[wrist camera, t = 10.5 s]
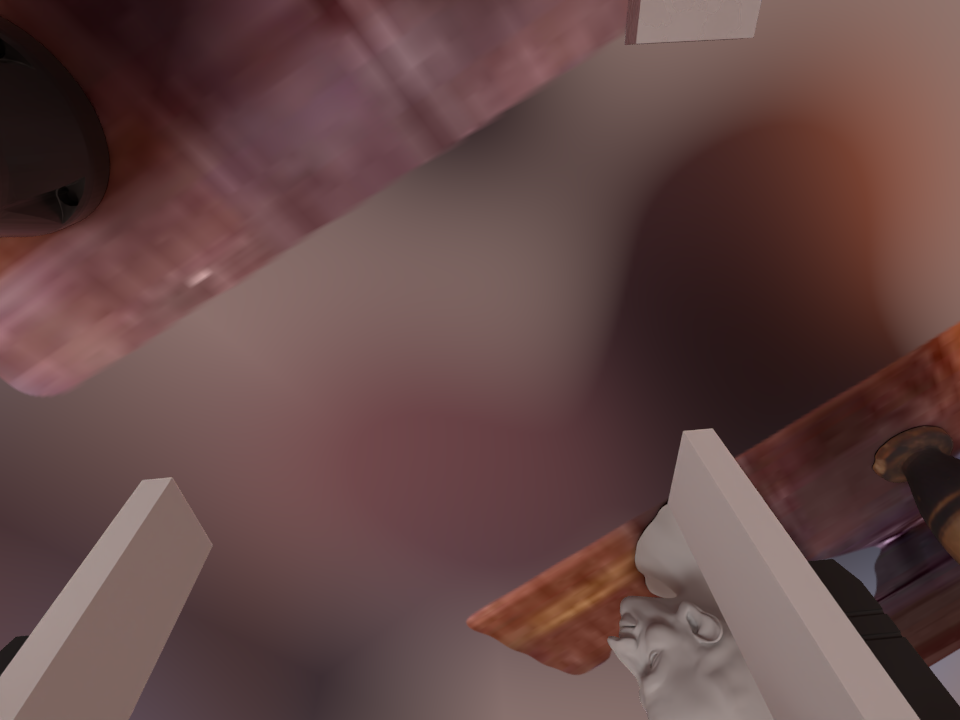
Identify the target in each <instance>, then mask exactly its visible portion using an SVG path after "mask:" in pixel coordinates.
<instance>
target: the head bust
mask: <svg viewBox="0 0 960 720" xmlns="http://www.w3.org/2000/svg"><path fill="white" fill-rule="evenodd" d="M635 563H636V567H637V569H638V570H639V571H640V572H641V573H642V574H644V576H645V581H646V585H647V587H648V589H649V591H650V592H651V593H653V594H655V595H657V596H660V597H663V598H653V597H640V596H629V597H626V598H624V599H623V600H622V602H621V604H620V613H621V616H622V618H621V620H620V622H619V626H620V632H619V637H620V638H617V637H614V636H610V637H608V643H609V645H610V647H611V648H612V649H613V651H614V652H615V654H616V656H617V657H618V658H619V659H620V661H621V662H622V663H623V664H624V665H625V666H626V667H627V668H628V669H629V671H630V672H631V673H632V674H633V675H634V676H635V678H636V679H637V681H638V685H639V688H640V689H639V698H640V702H641V704H642V706H643V708H644V709H645V710H646V712H647V716H648V720H774V718H773V716H772V714H771V712H770V710H769V708H768V706H767V704H766V702H765V700H764V698H763V696H762V694H761V692H760V690H759V688H758V686H757V684H756V682H755V680H754V678H753V676H752V674H751V672H750V670H749V668H748V666H747V664H746V662H745V660H744V657H743V655H742V653H741V651H740V649H739V647H738V645H737V643H736V641H735V639H734V637H733V635H732V633H731V631H730V629H729V627H728V625H727V623H726V621H725V619H724V617H723V615H722V613H721V611H720V609H719V607H718V605H717V603H716V601H715V599H714V597H713V594H712V592H711V590H710V588H709V586H708V584H707V582H706V580H705V578H704V576H703V574H702V572H701V570H700V568H699V566H698V564H697V562H696V560H695V558H694V556H693V554H692V552H691V550H690V548H689V546H688V544H687V542H686V540H685V538H684V536H683V534H682V532H681V529H680V527H679V525H678V523H677V521H676V519H675V517H674V515H673V513H672V511H671V509H670V507H669V505H668V504H667V505H665V506H664V507H662V508H661V509H660V511H659V512H658V515H657V516H656V518H655V519H654V520H653V521H652V522H651V524H650V525H649V526H648V527H647V528H646V530H645V531H644V532H643V534H642V535H641V537H640V539H639V541H638V543H637V548H636V554H635Z"/></svg>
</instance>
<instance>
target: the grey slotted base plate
mask: <svg viewBox="0 0 960 720" xmlns="http://www.w3.org/2000/svg"><path fill="white" fill-rule="evenodd" d="M761 2H762V0H629V5H628V16H627V26H626V36H625V45H628V44H650V43H668V42H686V41H706V40H707V41H708V40H726V39H743V38H754V34H755V29H756V24H757V20H758V15H759V11H760V6H761Z"/></svg>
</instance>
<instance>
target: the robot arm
mask: <svg viewBox="0 0 960 720" xmlns="http://www.w3.org/2000/svg"><path fill="white" fill-rule="evenodd" d="M108 179H109V153H108V147H107V143H106V139H105V136H104V132H103V129H102V127H101V124H100V122H99V119H98V117H97V115H96V113H95V111H94V109H93V107H92V105H91V103H90V102H89V100H88V98H87V97H86V95H85V93H84V92H83V90H82V89H81V88H80V86H79V85H78V83H77V82H76V81H75V79H74V78H73V77H72V76H71V74H70V73H69V72H68V71H67V70H66V68H65V67H64V66H63V65H62V64H61V63H60V62H59V61H58V60H57V59H56V58H55V57H54V56H53V55H52V54H51V53H50V52H49V51H48V50H47V49H46V48H45V47H44V46H42V45H41V44H40V43H39V42H38V41H36V40H35V39H34V38H33V37H31V36H30V35H29V34H27V33H26V32H25V31H23V30H22V29H20V28H19V27H17V26H16V25H14V24H13V23H11V22H9V21H8V20H6V19H4V18H2V17H0V237H31V236H39V235H44V234H48V233H52V232H55V231H58V230H60V229H63V228H65V227H67V226H70V225H72V224H75V223H77V222H79V221H81V220H82V219H84V218H85V217H87V216H88V215H89V214H91V213H92V212H93V211H94V210H95V208H96V207H97V206H98V205H99V203H100V201H101V200H102V198H103V196H104V194H105V191H106V188H107V184H108ZM668 505H669V507H670V509H671V511H672V513H673V515H674V517H675V519H676V521H677V523H678V525H679V527H680V529H681V532H682V534H683V536H684V538H685V540H686V542H687V544H688V546H689V548H690V550H691V552H692V554H693V556H694V558H695V560H696V562H697V564H698V566H699V568H700V570H701V572H702V574H703V576H704V578H705V580H706V582H707V584H708V586H709V588H710V590H711V592H712V594H713V597H714V599H715V601H716V603H717V605H718V607H719V609H720V611H721V613H722V615H723V617H724V619H725V621H726V623H727V625H728V627H729V629H730V631H731V633H732V635H733V637H734V639H735V641H736V643H737V645H738V647H739V649H740V651H741V653H742V655H743V657H744V660H745V662H746V664H747V666H748V668H749V670H750V672H751V674H752V676H753V678H754V680H755V682H756V684H757V686H758V688H759V690H760V692H761V694H762V696H763V698H764V700H765V702H766V704H767V706H768V708H769V710H770V712H771V714H772V716H773V718H774V720H960V706H959V705H958V704H957V703H956V701H955V700H954V699H953V697H952V696H951V695H950V694H949V692H948V691H947V690H946V688H945V687H944V686H943V685H942V683H941V682H940V681H939V680H938V678H937V677H936V676H935V675H934V674H933V672H932V671H931V669H930V668H929V667H928V666H927V664H926V663H925V662H924V661H923V659H922V658H921V657H920V655H919V654H918V653H917V652H916V650H915V649H914V648H913V647H912V645H911V644H910V643H909V642H908V640H907V639H906V638H905V637H902V636H901V634H900V630H899V629H898V628H897V626H896V625H895V624H894V622H893V621H892V620H891V619H890V617H889V616H888V615H887V614H884V613H883V611H882V607H881V606H880V605H879V603H878V602H877V601H876V600H875V598H874V597H873V596H872V595H871V593H870V592H869V591H868V590H867V588H866V587H865V586H864V585H863V583H862V582H861V581H860V580H859V579H857V578H856V577H855V576H854V575H852V574H851V573H850V572H849V571H847V570H846V569H845V568H843V567H842V566H841V565H840V564H839V563H837V562H836V561H835V560H833V559H828V560H818V561H807V560H806V559H805V557H804V556H803V555H802V553H801V552H800V550H799V549H798V548H797V546H796V545H795V543H794V542H793V541H792V539H791V538H790V536H789V535H788V533H787V532H786V531H785V529H784V528H783V526H782V525H781V524H780V522H779V521H778V519H777V518H776V517H775V515H774V514H773V512H772V511H771V510H770V508H769V507H768V505H767V504H766V503H765V501H764V500H763V498H762V497H761V496H760V494H759V493H758V491H757V490H756V489H755V487H754V486H753V484H752V483H751V482H750V480H749V479H748V477H747V476H746V475H745V473H744V472H743V470H742V469H741V468H740V466H739V465H738V463H737V462H736V461H735V459H734V458H733V456H732V455H731V454H730V452H729V451H728V449H727V448H726V447H725V445H724V444H723V442H722V441H721V440H720V438H719V437H718V435H717V434H716V432H715V431H714V430H713V429H700V430H689V431H683V434H682V439H681V443H680V448H679V453H678V457H677V462H676V467H675V472H674V476H673V481H672V486H671V490H670V495H669V499H668ZM212 546H213V545H212V543H211V541H210V540H209V538H208V536H207V535H206V533H205V531H204V530H203V528H202V526H201V525H200V523H199V521H198V520H197V518H196V516H195V515H194V513H193V511H192V509H191V508H190V506H189V505H188V503H187V501H186V499H185V498H184V496H183V495H182V493H181V491H180V489H179V488H178V486H177V484H176V482H175V481H174V479H173V478H172V477H170V478H159V479H148V480H142V481H141V483H140V484H139V486H138V487H137V488H136V489H135V491H134V492H133V494H132V495H131V496H130V498H129V499H128V501H127V502H126V503H125V505H124V506H123V508H122V509H121V510H120V512H119V513H118V514H117V516H116V517H115V518H114V520H113V521H112V523H111V524H110V525H109V527H108V528H107V530H106V531H105V532H104V534H103V535H102V537H101V538H100V540H99V541H98V542H97V543H96V545H95V546H94V548H93V549H92V550H91V552H90V553H89V554H88V556H87V557H86V559H85V560H84V561H83V563H82V564H81V565H80V567H79V568H78V570H77V571H76V572H75V574H74V575H73V577H72V578H71V579H70V581H69V582H68V583H67V585H66V586H65V588H64V589H63V591H62V592H61V593H60V595H59V596H58V597H57V599H56V600H55V602H54V603H53V604H52V606H51V607H50V608H49V610H48V611H47V612H46V614H45V615H44V617H43V618H42V620H41V621H40V622H39V624H38V625H37V627H36V628H35V629H34V630H33V632H32V633H31V635H30V636H20V637H15V638H14V639H13V640H12V641H11V642H10V643H9V644H8V645H6V646H5V647H4V648H3V649H2V650H1V651H0V720H129V717H130V716H131V714H132V712H133V709H134V707H135V705H136V703H137V701H138V699H139V697H140V695H141V693H142V691H143V689H144V687H145V685H146V683H147V681H148V679H149V676H150V674H151V672H152V670H153V668H154V666H155V664H156V662H157V660H158V658H159V656H160V653H161V652H162V650H163V647H164V645H165V643H166V641H167V639H168V637H169V635H170V633H171V631H172V629H173V627H174V625H175V623H176V620H177V618H178V616H179V614H180V612H181V610H182V608H183V606H184V604H185V602H186V600H187V598H188V596H189V594H190V591H191V589H192V587H193V585H194V583H195V581H196V579H197V577H198V575H199V573H200V571H201V569H202V566H203V564H204V562H205V560H206V558H207V556H208V554H209V552H210V550H211V548H212Z"/></svg>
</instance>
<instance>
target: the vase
mask: <svg viewBox="0 0 960 720" xmlns="http://www.w3.org/2000/svg"><path fill="white" fill-rule="evenodd" d="M952 449H953V441H952V438H951V437H950V436H949V435H948V434H947V433H946V432H945V431H944V430H943V429H941V428H938V427H933V426H922V427H917V428H913V429H910V430H908V431H905V432H903V433H900V434H899V435H897V436H895V437H893V438H891V439H890V440H889V441H888V442H887V443H885V445H883V446H882V447H881V448H880V449H879V450H878V452H877V453H876V455H875V458H876V460H875V464H874V465H873V469H874V471H875V472H876V474H878V475H879V476H881V477H882V478H884V479H885V480H887V481H890V482H897V483H900V482H906V481H908V483H909V486H910V489H911V492H912V495H913V497H914V500H915V502H916V505H917V507H918V509H919V512H920V514H921V516H922V517H923V519H924V521H925V522H926V524H927V525H928V527H929V528H930V530H931V531H932V533H933V534H934V535H935V537H936V538H937V539H938V541H939V542H940V543H941V544H942V546H943V547H944V548H945V549H946V550H947V552H948V553H949V554H950V555H951V556H952V557H953V558H954V559H955V561H956V562H957V563H958V564H959V565H960V459H957V458H954V457H951V456H950V454H951V452H952Z"/></svg>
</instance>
